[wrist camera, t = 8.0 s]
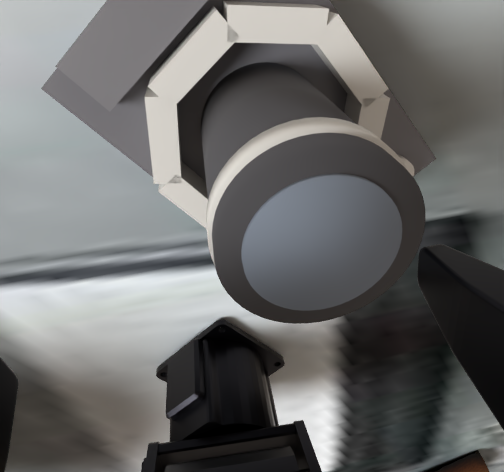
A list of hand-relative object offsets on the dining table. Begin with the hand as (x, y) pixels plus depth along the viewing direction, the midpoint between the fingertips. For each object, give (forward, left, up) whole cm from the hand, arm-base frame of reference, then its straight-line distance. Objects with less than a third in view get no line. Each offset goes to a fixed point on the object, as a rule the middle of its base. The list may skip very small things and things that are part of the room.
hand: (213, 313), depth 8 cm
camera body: (-1, -2, -12) cm, 12 cm away
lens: (-1, -2, -9) cm, 9 cm away
